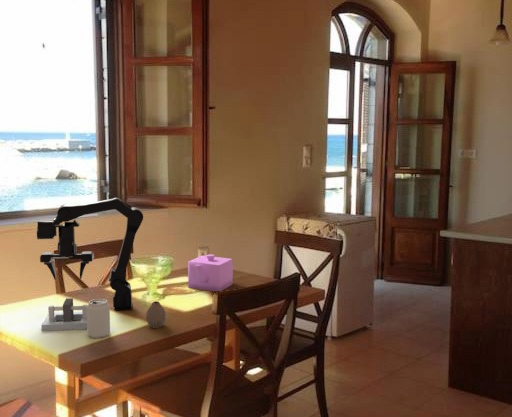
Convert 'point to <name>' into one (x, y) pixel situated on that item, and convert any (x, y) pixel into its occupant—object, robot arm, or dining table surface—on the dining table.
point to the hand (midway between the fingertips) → (68, 279)
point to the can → (98, 318)
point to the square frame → (52, 317)
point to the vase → (156, 315)
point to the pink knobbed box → (210, 273)
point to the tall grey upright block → (68, 310)
